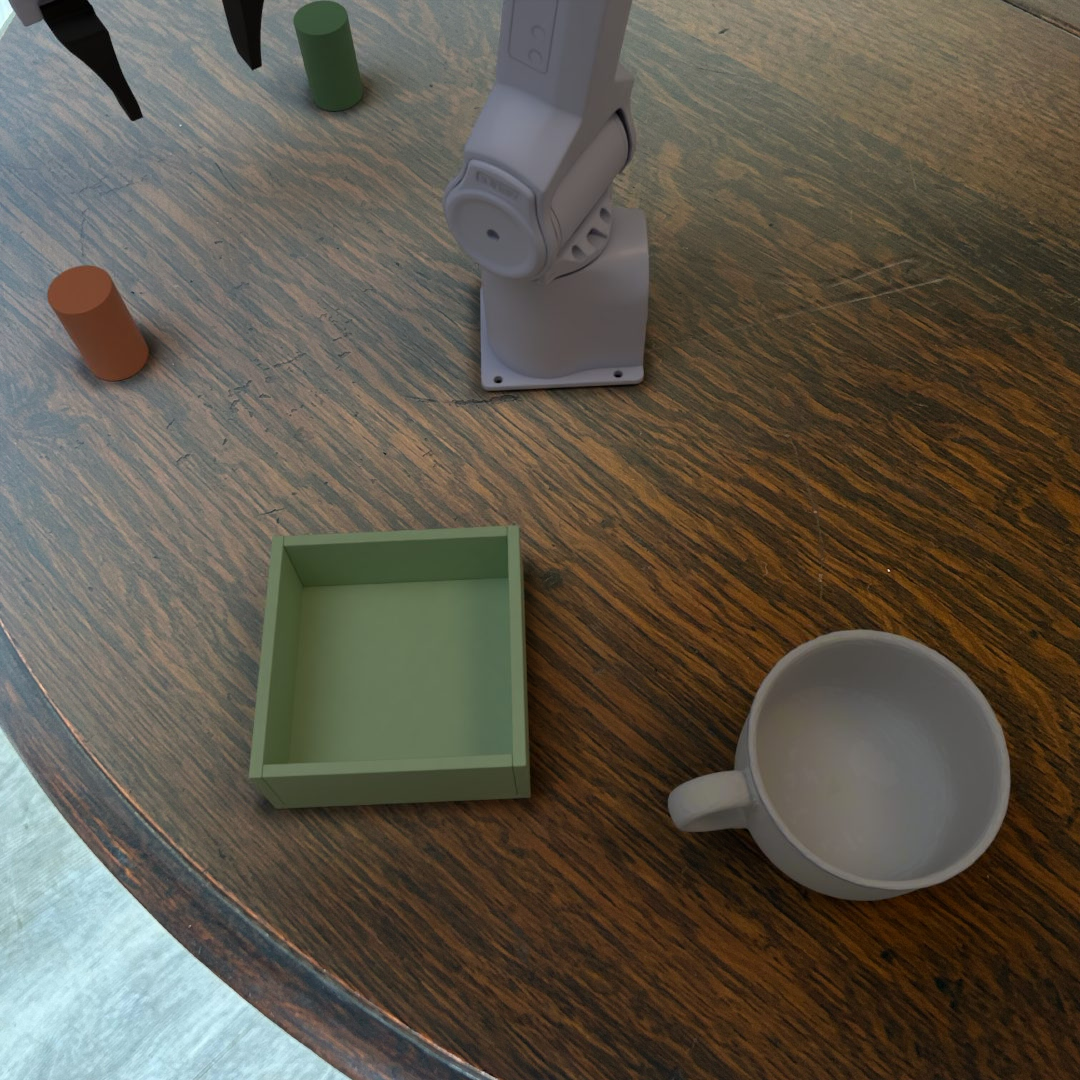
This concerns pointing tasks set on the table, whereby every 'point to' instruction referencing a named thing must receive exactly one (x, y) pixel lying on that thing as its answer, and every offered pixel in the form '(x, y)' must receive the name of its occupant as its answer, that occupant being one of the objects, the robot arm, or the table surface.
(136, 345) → the terracotta peg
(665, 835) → the table surface
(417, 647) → the green bin
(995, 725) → the teacup
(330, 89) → the green peg
